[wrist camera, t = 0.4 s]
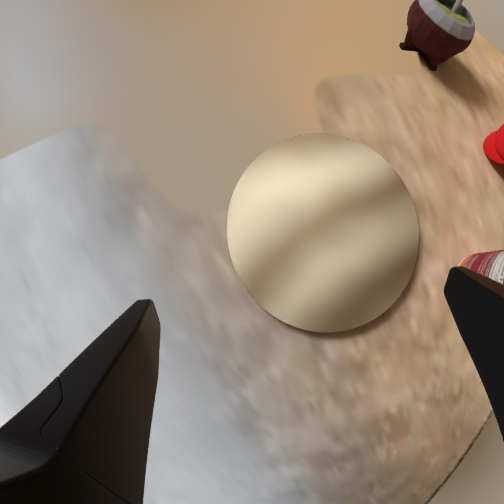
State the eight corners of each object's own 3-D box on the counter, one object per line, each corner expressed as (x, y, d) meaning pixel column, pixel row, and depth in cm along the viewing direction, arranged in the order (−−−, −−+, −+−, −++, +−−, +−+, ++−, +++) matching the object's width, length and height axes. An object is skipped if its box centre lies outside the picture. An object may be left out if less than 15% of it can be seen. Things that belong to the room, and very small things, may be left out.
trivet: (440, 244, 24) (447, 243, 22) (314, 368, 23) (317, 373, 21) (330, 109, 24) (333, 102, 23) (187, 217, 23) (184, 214, 22)
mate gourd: (410, 72, 25) (483, -21, 10) (380, 20, 26) (429, -72, 11) (458, 76, 25) (531, 4, 10) (429, 26, 26) (482, -49, 11)
